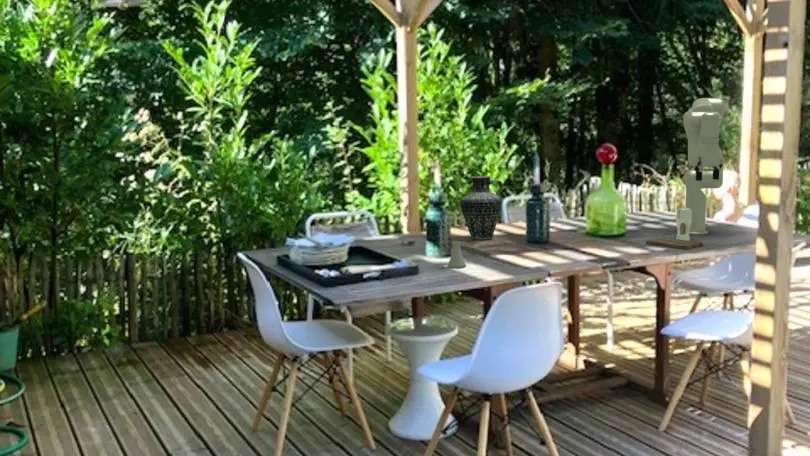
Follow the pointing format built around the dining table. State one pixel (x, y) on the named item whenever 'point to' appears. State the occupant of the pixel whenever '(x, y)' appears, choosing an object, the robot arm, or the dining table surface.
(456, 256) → the flask
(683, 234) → the beer glass
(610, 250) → the dining table surface
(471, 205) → the jug
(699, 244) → the serving board
